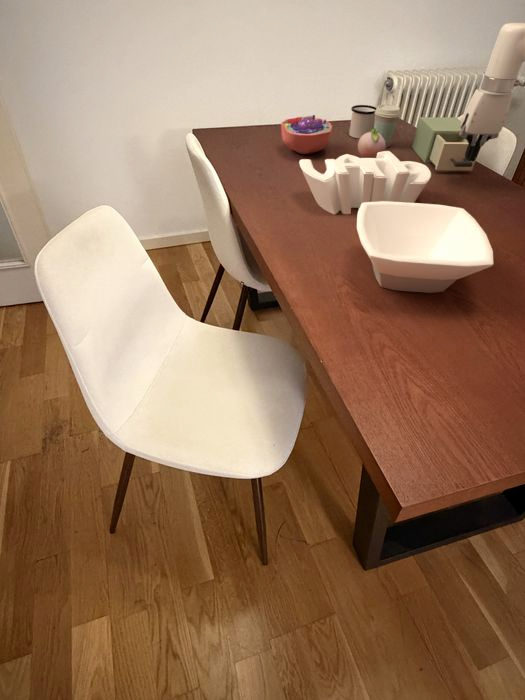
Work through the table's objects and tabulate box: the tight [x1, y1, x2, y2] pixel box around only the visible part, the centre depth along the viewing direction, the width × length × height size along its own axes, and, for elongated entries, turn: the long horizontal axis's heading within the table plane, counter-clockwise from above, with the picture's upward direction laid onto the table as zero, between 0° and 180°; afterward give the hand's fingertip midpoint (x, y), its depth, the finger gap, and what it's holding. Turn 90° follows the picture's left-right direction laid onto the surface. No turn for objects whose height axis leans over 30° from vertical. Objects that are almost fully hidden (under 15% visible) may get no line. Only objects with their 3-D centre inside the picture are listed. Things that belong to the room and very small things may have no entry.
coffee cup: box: [373, 104, 401, 149], centre depth 139 cm, size 8×8×12 cm
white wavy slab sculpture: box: [299, 150, 432, 215], centre depth 107 cm, size 35×16×11 cm, turn 91°
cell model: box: [280, 114, 333, 155], centre depth 134 cm, size 17×20×11 cm
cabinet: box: [411, 116, 462, 164], centre depth 134 cm, size 15×13×10 cm
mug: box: [348, 104, 377, 140], centre depth 148 cm, size 12×10×9 cm
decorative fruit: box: [357, 129, 386, 158], centre depth 128 cm, size 9×8×10 cm
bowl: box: [356, 201, 494, 294], centre depth 82 cm, size 24×25×10 cm
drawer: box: [428, 134, 478, 172], centre depth 125 cm, size 18×11×8 cm, turn 1°
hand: (469, 159), depth 116 cm, fingers closed
